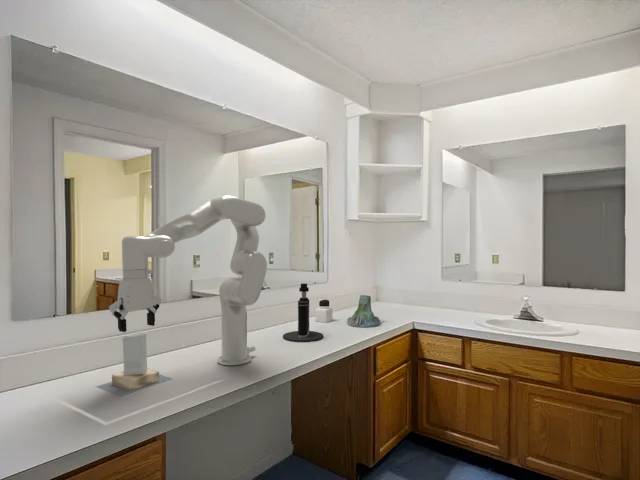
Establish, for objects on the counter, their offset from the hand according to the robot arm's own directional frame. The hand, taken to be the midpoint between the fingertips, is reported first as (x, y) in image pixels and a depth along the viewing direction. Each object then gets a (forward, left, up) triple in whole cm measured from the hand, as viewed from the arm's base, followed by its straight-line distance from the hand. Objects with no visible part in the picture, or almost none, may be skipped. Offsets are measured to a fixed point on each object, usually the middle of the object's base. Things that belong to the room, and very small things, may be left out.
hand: (137, 328), depth 132 cm
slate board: (0, 0, -18) cm, 18 cm away
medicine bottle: (-118, -7, -18) cm, 119 cm away
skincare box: (+1, 0, -15) cm, 15 cm away
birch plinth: (0, 0, -17) cm, 17 cm away
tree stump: (-124, +14, -18) cm, 126 cm away
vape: (-81, +6, -18) cm, 83 cm away
